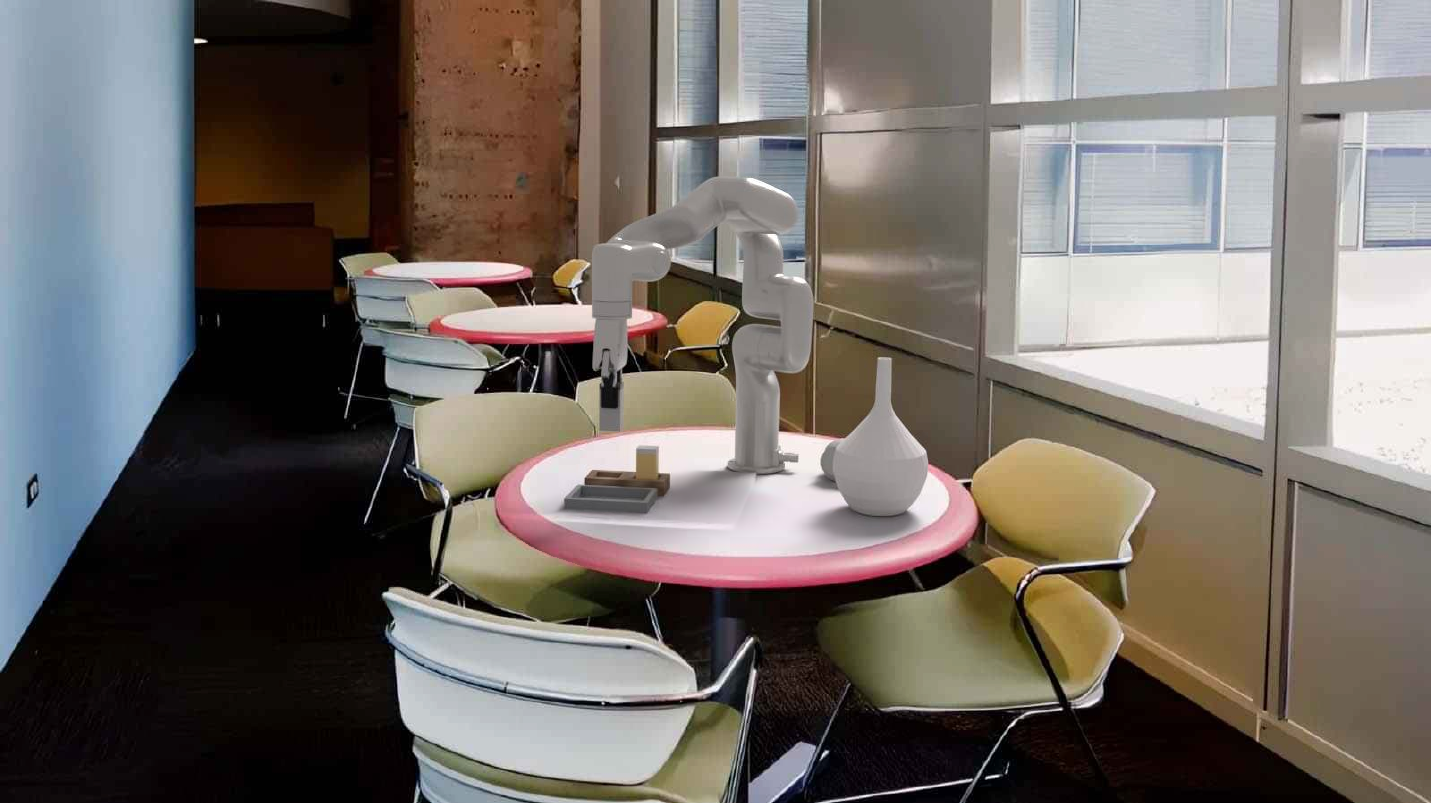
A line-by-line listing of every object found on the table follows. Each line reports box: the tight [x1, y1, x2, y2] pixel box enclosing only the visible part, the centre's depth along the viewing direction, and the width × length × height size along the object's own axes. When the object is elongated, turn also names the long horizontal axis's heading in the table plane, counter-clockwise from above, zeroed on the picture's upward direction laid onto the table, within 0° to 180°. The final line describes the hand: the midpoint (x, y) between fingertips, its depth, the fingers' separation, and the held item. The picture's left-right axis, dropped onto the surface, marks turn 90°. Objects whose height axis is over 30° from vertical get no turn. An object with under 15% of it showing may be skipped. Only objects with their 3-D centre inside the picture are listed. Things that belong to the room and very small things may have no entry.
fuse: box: [635, 444, 660, 480], centre depth 262 cm, size 4×3×9 cm
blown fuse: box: [598, 381, 625, 432], centre depth 250 cm, size 4×3×9 cm
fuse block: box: [583, 469, 671, 498], centre depth 263 cm, size 16×7×4 cm, turn 82°
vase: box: [833, 356, 929, 517], centre depth 253 cm, size 18×18×30 cm
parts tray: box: [563, 484, 659, 514], centre depth 253 cm, size 16×11×3 cm
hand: (611, 405), depth 250 cm, fingers closed on blown fuse, 3 cm apart
